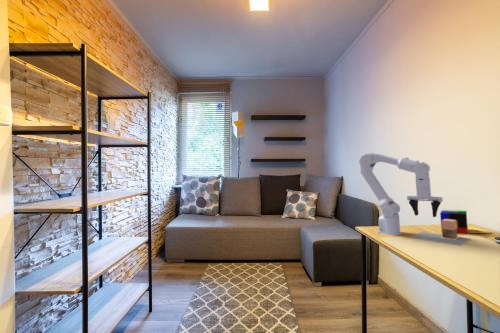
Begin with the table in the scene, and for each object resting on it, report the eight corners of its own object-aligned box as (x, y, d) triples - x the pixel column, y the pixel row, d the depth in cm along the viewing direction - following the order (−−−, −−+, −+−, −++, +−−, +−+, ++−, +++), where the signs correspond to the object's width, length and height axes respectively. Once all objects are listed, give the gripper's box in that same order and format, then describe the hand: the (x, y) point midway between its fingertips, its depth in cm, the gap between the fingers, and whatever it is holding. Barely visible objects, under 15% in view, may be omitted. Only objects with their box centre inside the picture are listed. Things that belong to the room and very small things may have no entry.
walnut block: (442, 237, 126) (442, 228, 126) (445, 235, 129) (445, 227, 129) (454, 239, 122) (453, 230, 122) (457, 236, 125) (456, 228, 125)
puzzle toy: (441, 232, 135) (440, 213, 135) (443, 228, 143) (442, 209, 142) (467, 235, 128) (465, 214, 128) (467, 230, 136) (466, 210, 136)
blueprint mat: (409, 238, 129) (409, 237, 129) (421, 232, 138) (421, 231, 138) (460, 246, 113) (460, 245, 113) (470, 239, 122) (470, 238, 122)
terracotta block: (441, 228, 126) (441, 220, 126) (445, 227, 129) (444, 218, 128) (453, 230, 122) (452, 221, 122) (456, 228, 125) (456, 219, 125)
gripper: (403, 188, 132) (405, 215, 132) (437, 188, 120) (440, 219, 120) (409, 186, 136) (411, 213, 136) (443, 187, 125) (445, 216, 125)
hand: (425, 215), depth 129 cm, fingers open, 7 cm apart
